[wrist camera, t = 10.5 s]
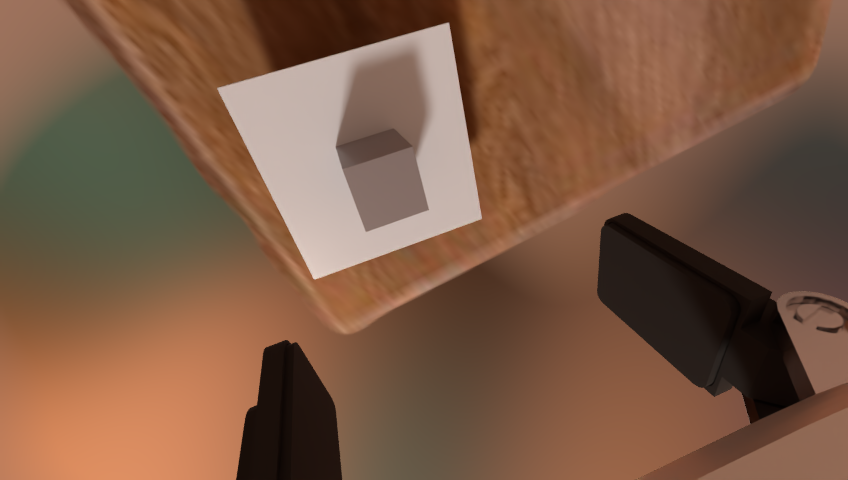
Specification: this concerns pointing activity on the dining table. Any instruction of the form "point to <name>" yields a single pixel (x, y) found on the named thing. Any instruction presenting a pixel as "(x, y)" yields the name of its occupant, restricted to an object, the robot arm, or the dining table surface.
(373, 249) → the lid
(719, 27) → the dining table surface
